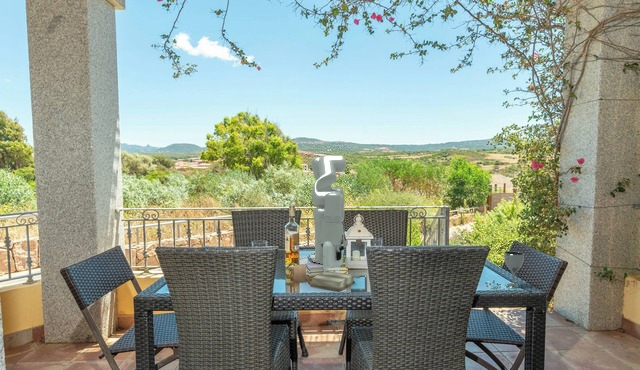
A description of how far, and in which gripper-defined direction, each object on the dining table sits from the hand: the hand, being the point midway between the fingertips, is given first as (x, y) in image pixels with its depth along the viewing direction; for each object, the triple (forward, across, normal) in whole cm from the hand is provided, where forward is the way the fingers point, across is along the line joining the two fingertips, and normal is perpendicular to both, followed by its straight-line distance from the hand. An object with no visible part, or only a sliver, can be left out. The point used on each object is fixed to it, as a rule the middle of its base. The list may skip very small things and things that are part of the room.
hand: (333, 258), depth 193 cm
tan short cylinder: (+12, -17, -2) cm, 21 cm away
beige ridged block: (+12, 0, 0) cm, 12 cm away
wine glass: (+12, +71, +41) cm, 83 cm away
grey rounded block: (+4, 0, 0) cm, 4 cm away
